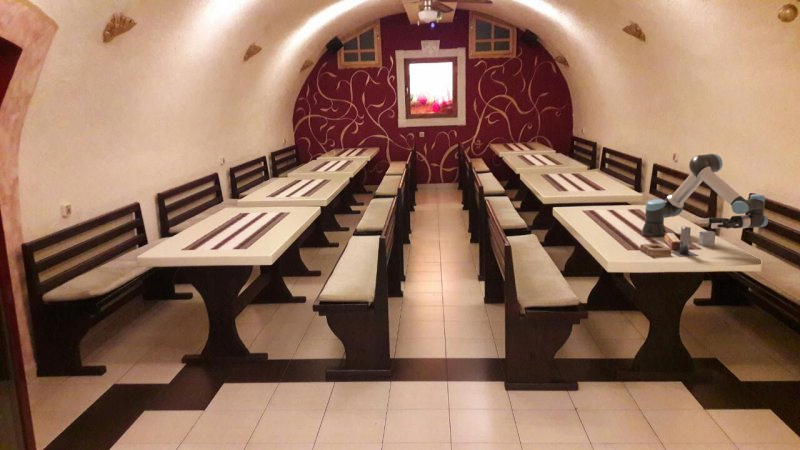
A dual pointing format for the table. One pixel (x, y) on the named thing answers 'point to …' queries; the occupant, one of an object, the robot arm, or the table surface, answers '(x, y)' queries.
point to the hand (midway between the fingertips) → (704, 223)
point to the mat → (683, 255)
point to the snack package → (672, 241)
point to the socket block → (655, 250)
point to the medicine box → (707, 238)
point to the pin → (684, 240)
